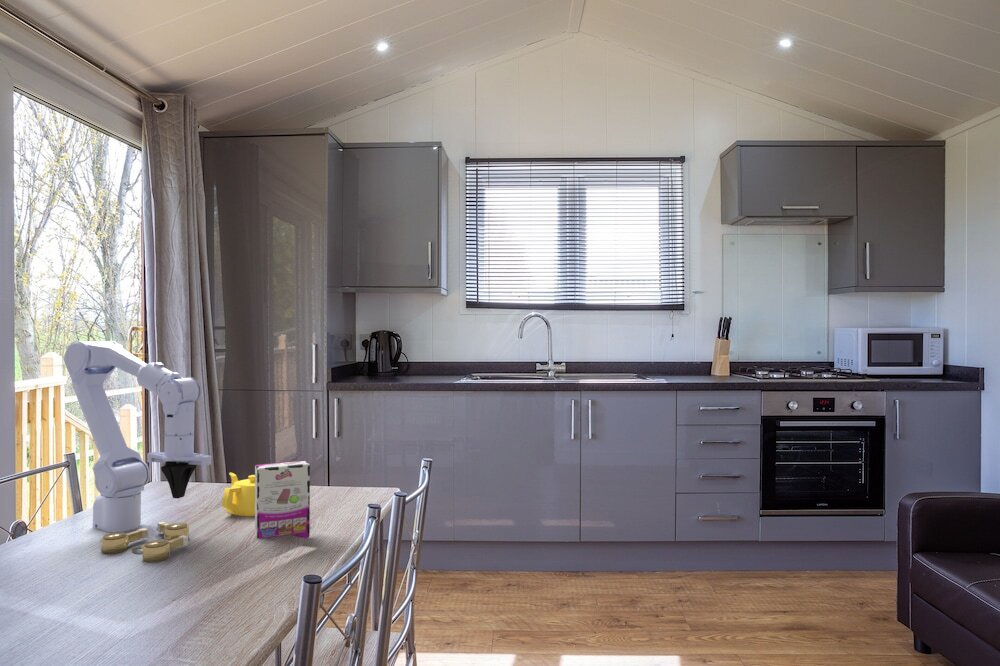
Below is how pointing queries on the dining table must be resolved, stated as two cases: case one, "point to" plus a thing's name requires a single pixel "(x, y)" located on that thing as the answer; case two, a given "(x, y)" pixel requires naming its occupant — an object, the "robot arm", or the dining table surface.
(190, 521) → the dining table surface
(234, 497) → the teapot
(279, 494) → the candy bar box
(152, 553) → the knob front
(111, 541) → the knob inner
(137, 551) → the tribrach plate
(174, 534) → the knob rear
